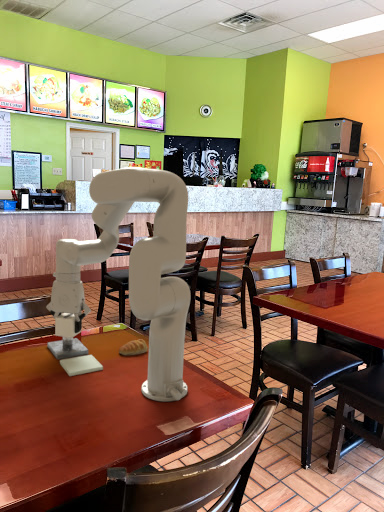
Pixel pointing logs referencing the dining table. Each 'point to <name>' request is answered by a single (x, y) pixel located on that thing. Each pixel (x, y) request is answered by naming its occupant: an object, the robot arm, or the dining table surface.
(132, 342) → the pastry
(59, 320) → the white slotted cube
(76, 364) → the coaster
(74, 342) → the post stand
